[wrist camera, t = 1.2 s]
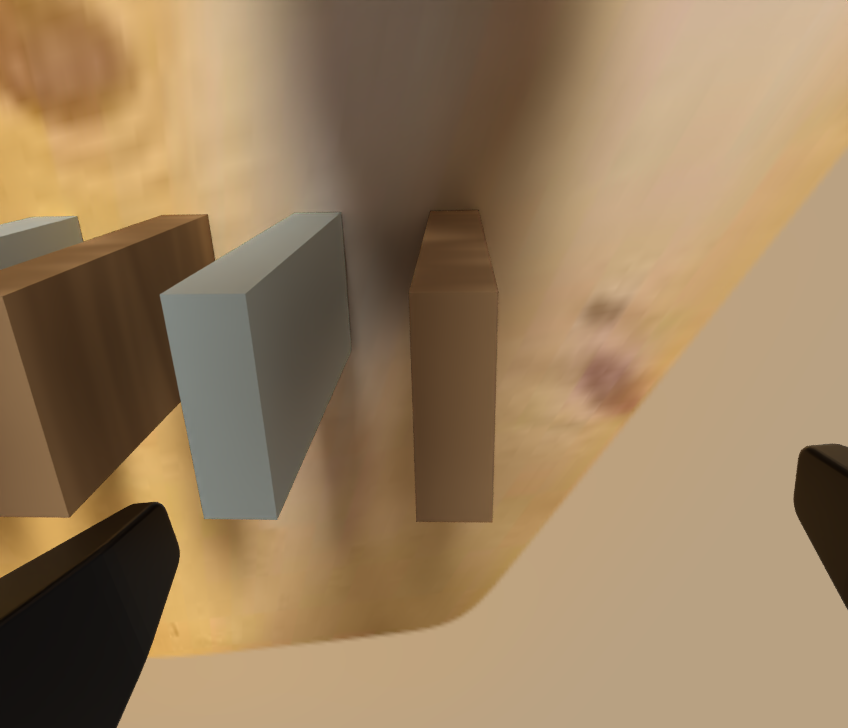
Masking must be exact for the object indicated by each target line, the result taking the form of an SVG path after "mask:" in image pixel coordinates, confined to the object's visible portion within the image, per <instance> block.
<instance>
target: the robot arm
mask: <svg viewBox="0 0 848 728" xmlns="http://www.w3.org/2000/svg"><path fill="white" fill-rule="evenodd" d="M794 507H795V511H796V514H797V516H798V518H799V520H800V522H801V524H802V526H803V528H804V530H805V531H806V533H807V535H808V537H809V539H810V541H811V543H812V545H813V546H814V548H815V550H816V552H817V554H818V556H819V557H820V560H821V561H822V563H823V565H824V567H825V569H826V571H827V573H828V574H829V576H830V578H831V580H832V582H833V584H834V586H835V588H836V589H837V591H838V593H839V595H840V596H841V599H842V600H843V602H844V604H845V606H846V608H847V609H848V447H846V446H842V445H840V444H823V445H811V446H806V447H805V448H803V449H802V450H801V452H800V454H799V458H798V465H797V473H796V481H795V489H794ZM179 558H180V550H179V545H178V542H177V539H176V536H175V533H174V531H173V528H172V525H171V522H170V519H169V517H168V514H167V511H166V509H165V507H164V506H163V505H162V504H160V503H158V502H148V503H137V504H132V505H130V506H128V507H126V508H124V509H122V510H120V511H119V512H117V513H115V514H113V515H112V516H110V517H108V518H106V519H104V520H103V521H101V522H99V523H97V524H96V525H94V526H92V527H90V528H88V529H87V530H85V531H83V532H81V533H80V534H78V535H76V536H74V537H72V538H71V539H69V540H67V541H65V542H64V543H62V544H60V545H58V546H56V547H55V548H53V549H51V550H49V551H48V552H46V553H44V554H42V555H40V556H39V557H37V558H35V559H33V560H32V561H30V562H28V563H26V564H24V565H23V566H21V567H19V568H17V569H16V570H14V571H12V572H10V573H8V574H7V575H5V576H3V577H1V578H0V728H117V726H118V723H119V721H120V719H121V717H122V714H123V712H124V710H125V707H126V705H127V703H128V701H129V699H130V696H131V694H132V692H133V689H134V687H135V685H136V683H137V681H138V678H139V676H140V674H141V671H142V669H143V666H144V664H145V662H146V659H147V656H148V654H149V651H150V648H151V645H152V643H153V640H154V637H155V634H156V631H157V627H158V624H159V621H160V618H161V615H162V612H163V609H164V606H165V603H166V600H167V597H168V594H169V591H170V588H171V585H172V582H173V579H174V576H175V573H176V570H177V567H178V563H179Z"/></svg>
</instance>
